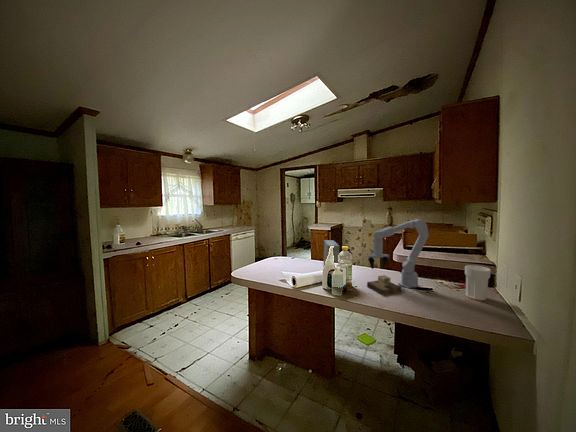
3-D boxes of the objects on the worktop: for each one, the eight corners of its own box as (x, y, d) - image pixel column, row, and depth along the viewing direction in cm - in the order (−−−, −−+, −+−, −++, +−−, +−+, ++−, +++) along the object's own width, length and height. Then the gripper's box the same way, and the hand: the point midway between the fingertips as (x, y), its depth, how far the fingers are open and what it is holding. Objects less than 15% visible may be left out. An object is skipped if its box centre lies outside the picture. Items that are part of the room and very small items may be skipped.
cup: (458, 295, 135) (460, 266, 133) (470, 292, 139) (472, 264, 138) (480, 303, 124) (482, 272, 123) (493, 299, 129) (495, 269, 127)
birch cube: (384, 282, 147) (384, 275, 147) (390, 285, 143) (390, 277, 142) (377, 283, 146) (378, 276, 146) (383, 286, 141) (383, 278, 141)
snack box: (339, 283, 156) (340, 245, 154) (326, 283, 156) (327, 245, 154) (334, 272, 177) (334, 239, 175) (322, 272, 178) (322, 239, 176)
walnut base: (384, 283, 154) (384, 279, 153) (401, 292, 140) (401, 287, 140) (367, 286, 149) (367, 282, 149) (382, 295, 136) (382, 290, 136)
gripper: (370, 250, 151) (370, 270, 152) (391, 249, 153) (390, 269, 154) (365, 248, 158) (365, 267, 159) (385, 247, 160) (385, 266, 161)
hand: (377, 268), depth 157 cm, fingers open, 7 cm apart
